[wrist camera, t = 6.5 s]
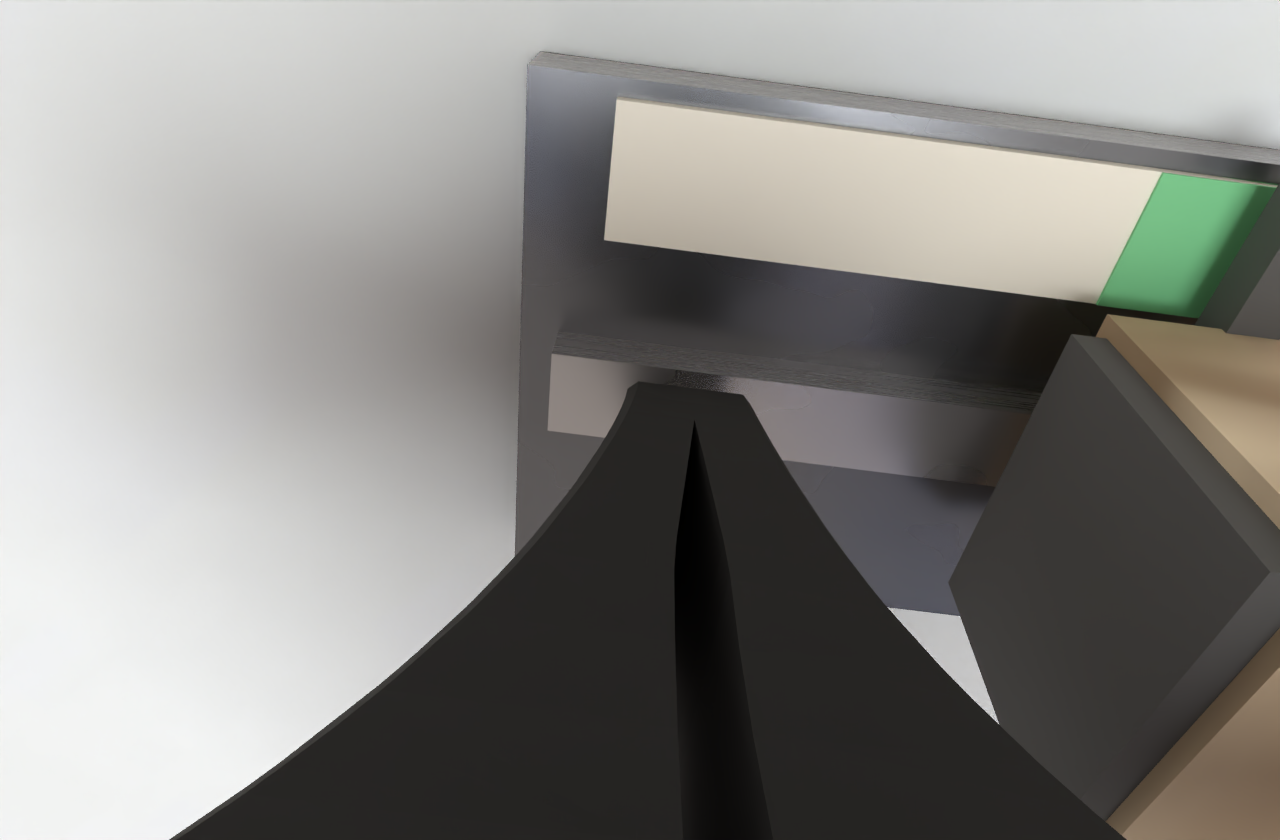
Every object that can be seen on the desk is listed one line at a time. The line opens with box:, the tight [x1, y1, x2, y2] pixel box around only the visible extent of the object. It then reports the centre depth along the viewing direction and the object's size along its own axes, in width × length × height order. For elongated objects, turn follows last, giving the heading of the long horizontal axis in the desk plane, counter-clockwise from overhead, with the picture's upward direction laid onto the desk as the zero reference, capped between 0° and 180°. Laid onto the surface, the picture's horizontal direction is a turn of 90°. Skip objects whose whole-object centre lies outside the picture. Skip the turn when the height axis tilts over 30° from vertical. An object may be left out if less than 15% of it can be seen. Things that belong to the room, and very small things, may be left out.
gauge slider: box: [948, 183, 1280, 840], centre depth 8 cm, size 4×6×4 cm, turn 174°
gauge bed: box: [515, 52, 1280, 616], centre depth 9 cm, size 15×8×6 cm, turn 84°
